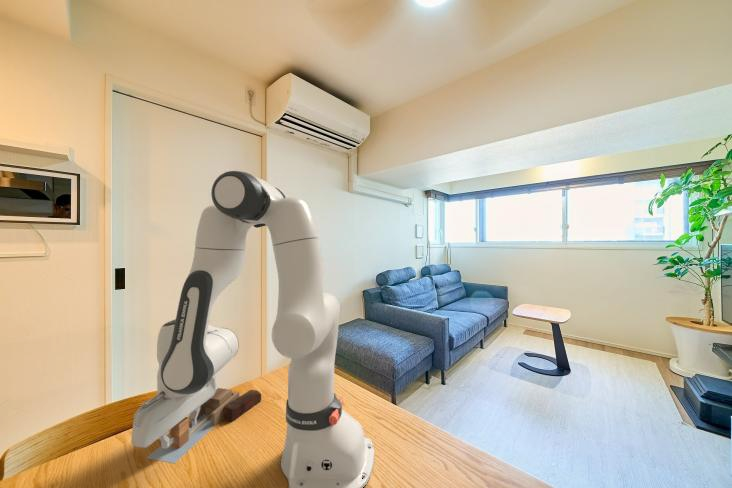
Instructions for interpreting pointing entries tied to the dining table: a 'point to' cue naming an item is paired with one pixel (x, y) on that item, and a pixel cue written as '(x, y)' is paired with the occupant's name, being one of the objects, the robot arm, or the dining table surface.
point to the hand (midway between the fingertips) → (179, 435)
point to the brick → (241, 405)
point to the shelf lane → (175, 453)
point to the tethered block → (182, 428)
